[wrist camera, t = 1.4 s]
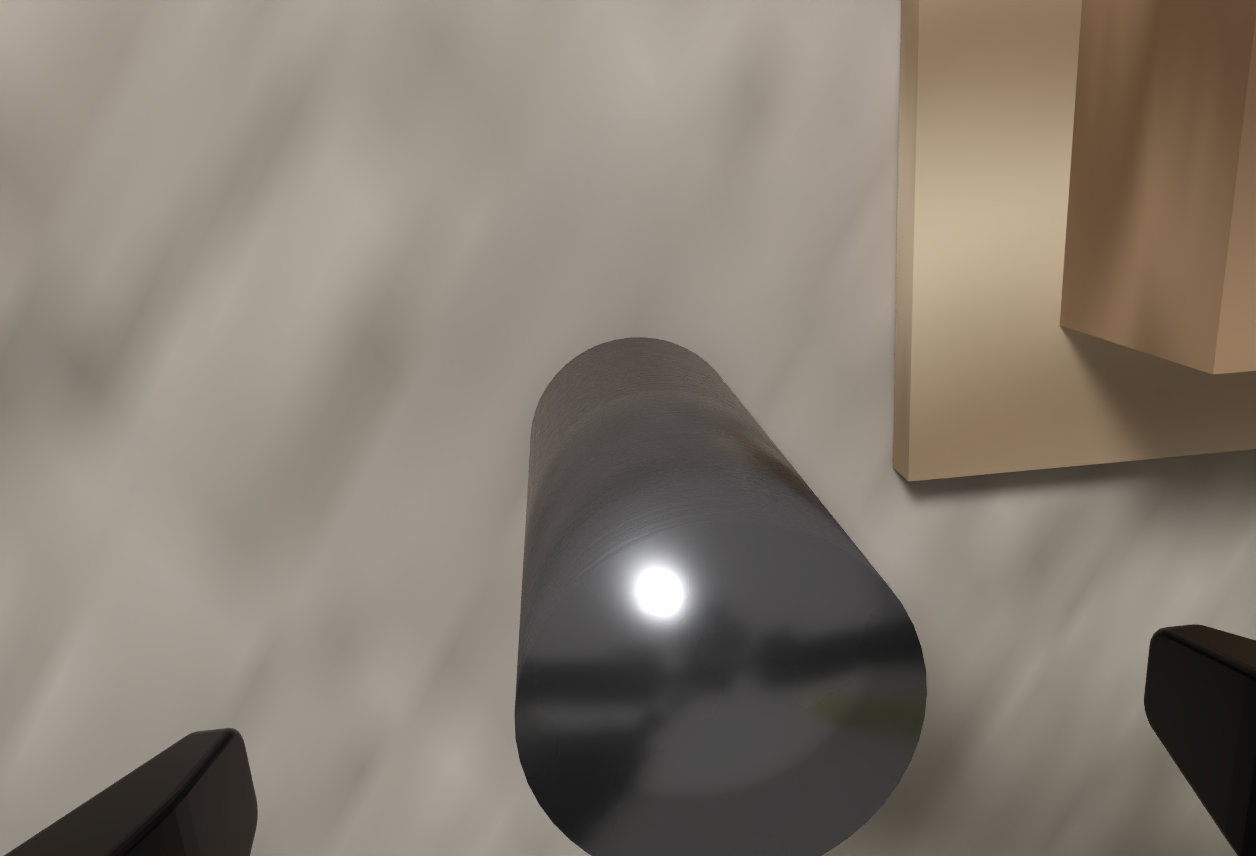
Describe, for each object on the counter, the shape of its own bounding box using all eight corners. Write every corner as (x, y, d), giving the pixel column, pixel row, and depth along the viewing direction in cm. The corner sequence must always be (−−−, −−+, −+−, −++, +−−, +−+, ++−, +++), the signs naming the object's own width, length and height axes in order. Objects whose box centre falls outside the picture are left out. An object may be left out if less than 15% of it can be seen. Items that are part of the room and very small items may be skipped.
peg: (743, 528, 18) (921, 862, 10) (540, 548, 18) (535, 908, 9) (737, 329, 17) (932, 502, 8) (520, 346, 17) (493, 544, 8)
